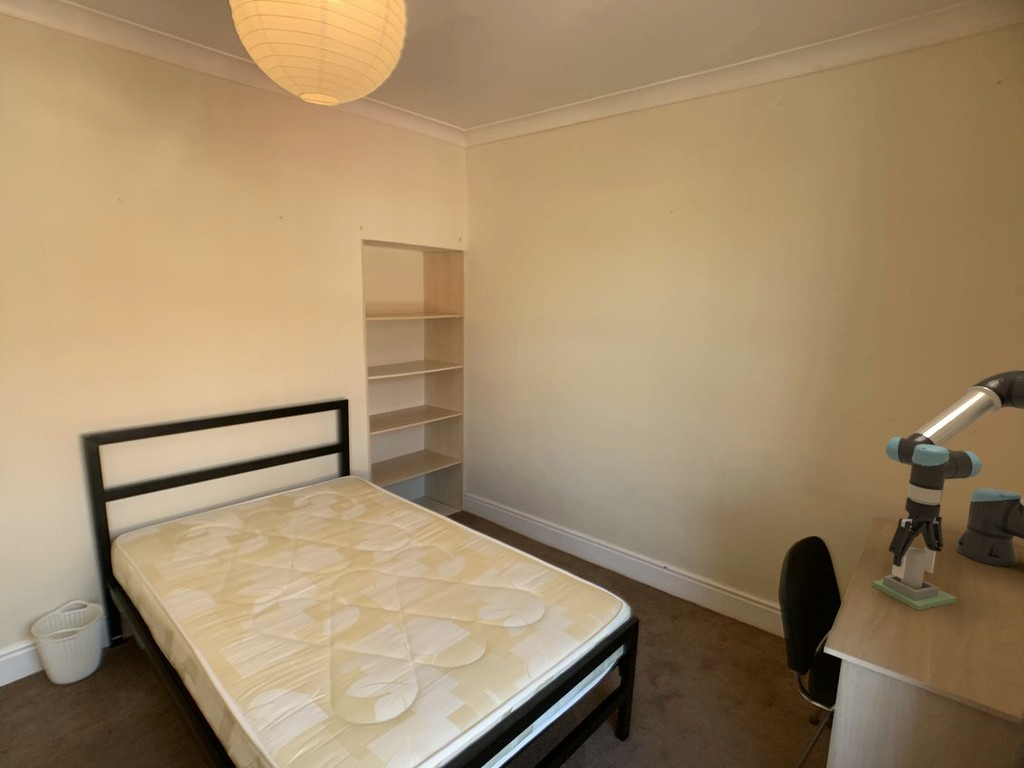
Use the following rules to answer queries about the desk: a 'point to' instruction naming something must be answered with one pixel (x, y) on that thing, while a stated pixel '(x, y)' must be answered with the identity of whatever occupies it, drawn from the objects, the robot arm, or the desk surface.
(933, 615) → the desk surface
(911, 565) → the beverage can
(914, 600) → the green tray with frame
